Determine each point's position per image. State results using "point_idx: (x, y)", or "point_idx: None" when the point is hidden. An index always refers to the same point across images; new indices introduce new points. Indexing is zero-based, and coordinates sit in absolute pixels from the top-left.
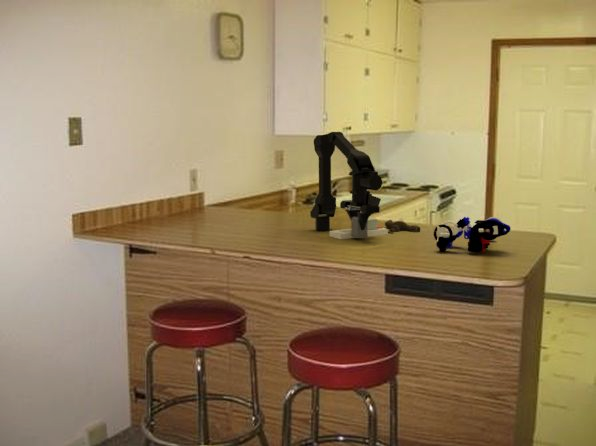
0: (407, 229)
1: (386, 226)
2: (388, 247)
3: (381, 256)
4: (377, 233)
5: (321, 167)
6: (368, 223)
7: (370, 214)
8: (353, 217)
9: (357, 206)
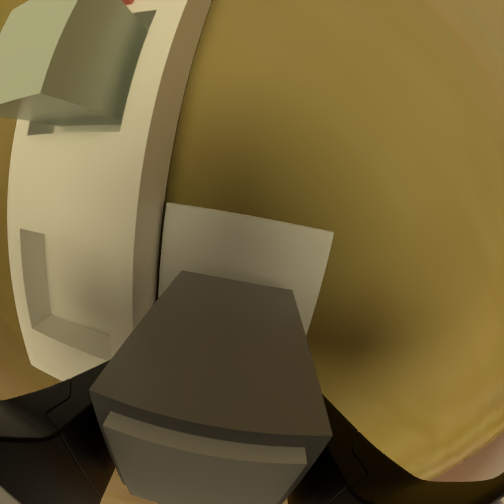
0: None
1: None
2: (473, 288)
3: (486, 403)
4: (181, 53)
5: None
6: (71, 95)
7: (453, 492)
8: (149, 495)
9: None
